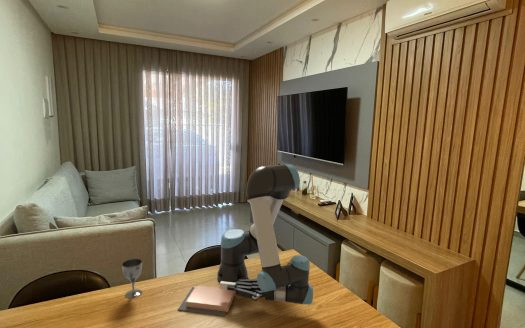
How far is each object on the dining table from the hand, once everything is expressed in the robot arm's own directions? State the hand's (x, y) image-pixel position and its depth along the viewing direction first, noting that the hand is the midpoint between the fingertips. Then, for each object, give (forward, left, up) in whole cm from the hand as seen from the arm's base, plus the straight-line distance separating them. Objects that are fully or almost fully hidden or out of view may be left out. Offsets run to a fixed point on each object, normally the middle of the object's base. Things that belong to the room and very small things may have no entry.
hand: (220, 285), depth 125 cm
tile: (0, +5, -7) cm, 8 cm away
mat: (0, -6, -9) cm, 10 cm away
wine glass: (+1, -40, -9) cm, 41 cm away
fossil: (-29, +31, -9) cm, 43 cm away
